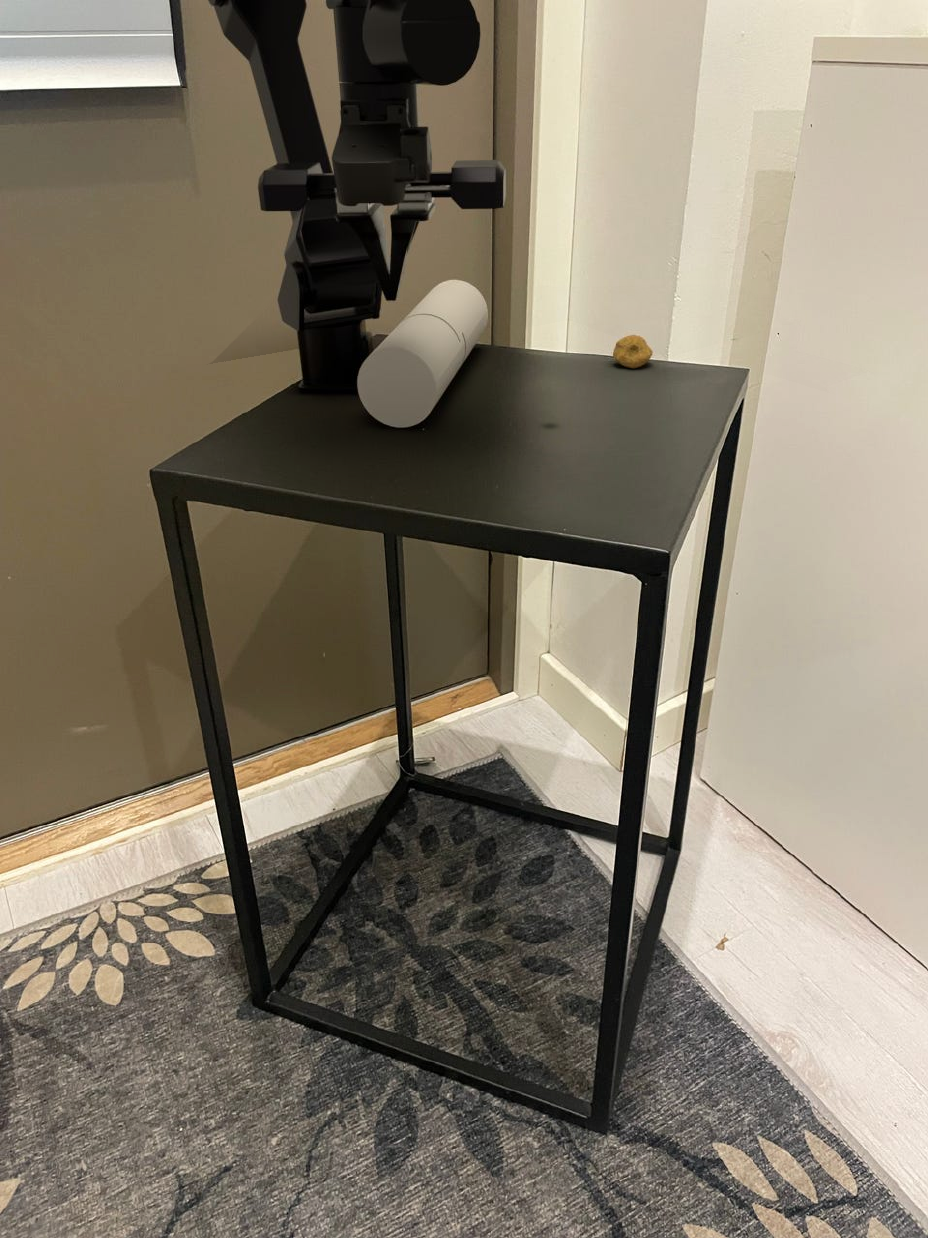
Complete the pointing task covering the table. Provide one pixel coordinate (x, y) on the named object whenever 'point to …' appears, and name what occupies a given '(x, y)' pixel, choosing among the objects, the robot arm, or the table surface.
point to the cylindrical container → (422, 354)
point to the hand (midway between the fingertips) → (391, 299)
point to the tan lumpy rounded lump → (632, 351)
